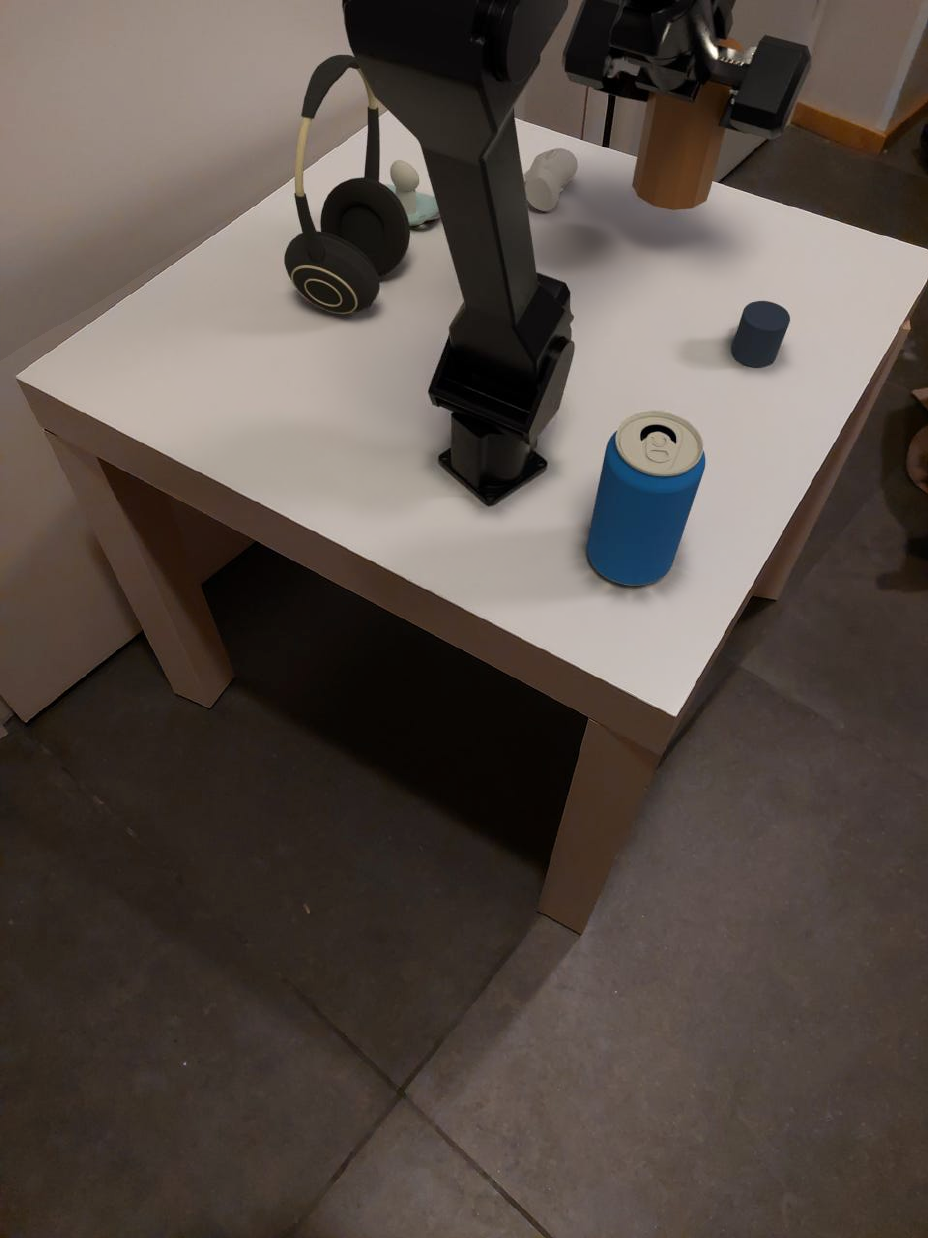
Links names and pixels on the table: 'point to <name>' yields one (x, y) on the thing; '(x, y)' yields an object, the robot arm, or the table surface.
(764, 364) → the dark navy cylinder
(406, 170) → the pacifier
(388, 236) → the headphones
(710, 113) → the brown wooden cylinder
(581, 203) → the table surface
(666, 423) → the beverage can
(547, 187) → the pale two-lobed sculpture
